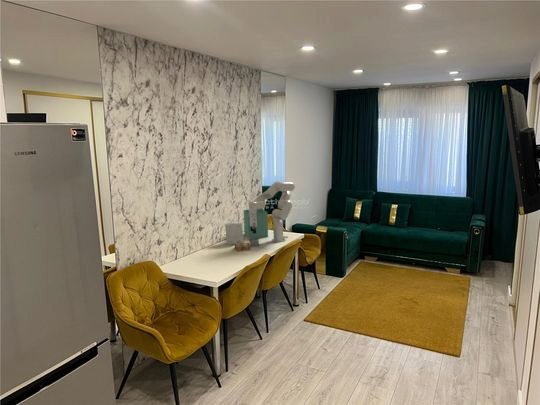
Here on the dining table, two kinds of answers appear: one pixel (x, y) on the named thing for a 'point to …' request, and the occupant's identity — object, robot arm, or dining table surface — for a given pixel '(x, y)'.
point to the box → (261, 224)
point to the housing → (254, 242)
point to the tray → (242, 246)
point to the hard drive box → (234, 233)
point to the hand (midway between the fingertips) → (253, 232)
